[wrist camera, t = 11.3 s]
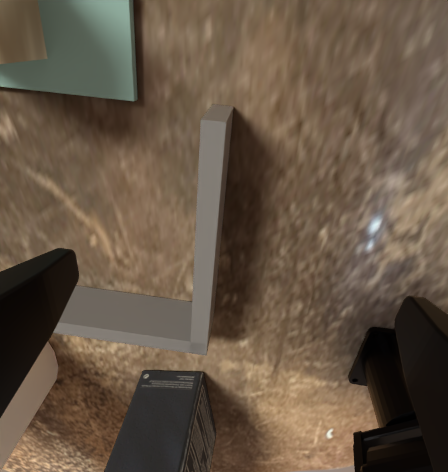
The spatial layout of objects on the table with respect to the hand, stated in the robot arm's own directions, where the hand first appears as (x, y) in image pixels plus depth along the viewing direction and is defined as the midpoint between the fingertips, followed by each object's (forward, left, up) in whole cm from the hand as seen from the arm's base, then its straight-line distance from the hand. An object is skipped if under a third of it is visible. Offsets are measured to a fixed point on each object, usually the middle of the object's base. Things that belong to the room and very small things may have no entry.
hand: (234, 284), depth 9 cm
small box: (-27, +4, -13) cm, 30 cm away
